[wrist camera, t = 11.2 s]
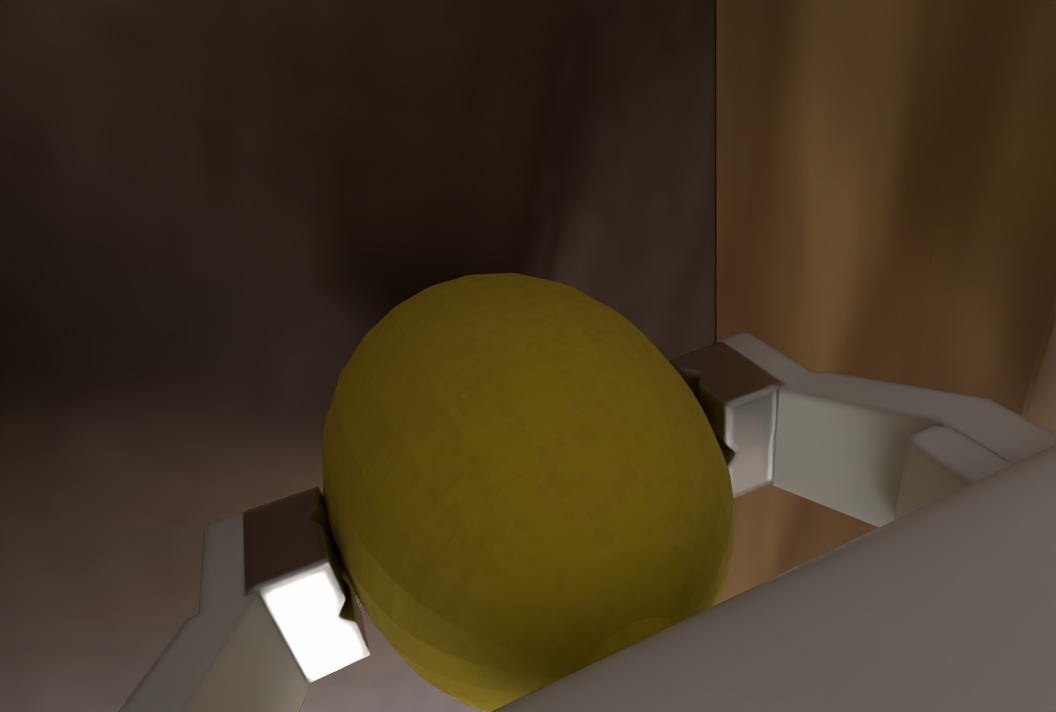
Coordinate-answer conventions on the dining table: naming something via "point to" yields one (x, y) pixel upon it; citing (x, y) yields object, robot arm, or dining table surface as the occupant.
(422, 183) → the dining table surface
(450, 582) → the lemon
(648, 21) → the dining table surface
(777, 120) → the crate
